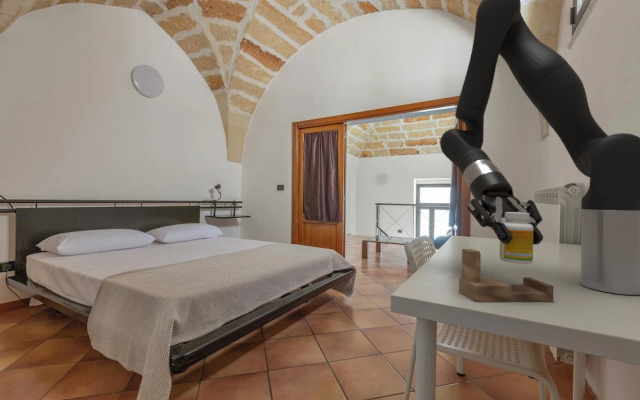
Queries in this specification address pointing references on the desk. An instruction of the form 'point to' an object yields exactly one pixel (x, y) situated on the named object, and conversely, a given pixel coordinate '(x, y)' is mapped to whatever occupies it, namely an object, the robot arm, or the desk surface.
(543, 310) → the desk surface
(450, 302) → the desk surface
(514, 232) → the supplement bottle
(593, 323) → the desk surface
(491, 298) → the wooden stand
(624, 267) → the robot arm
